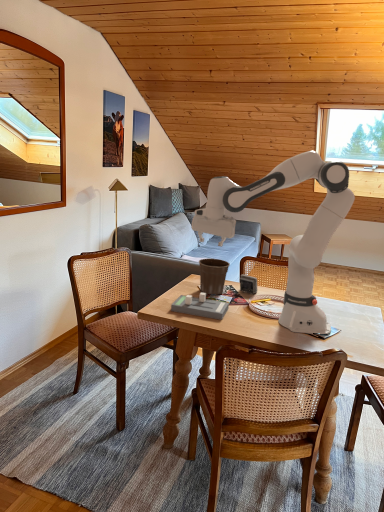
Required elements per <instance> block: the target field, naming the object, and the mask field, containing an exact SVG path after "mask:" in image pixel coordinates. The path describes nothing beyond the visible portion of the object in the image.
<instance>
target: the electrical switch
mask: <svg viewBox="0 0 384 512" xmlns="http://www.w3.org/2000/svg"><path fill="white" fill-rule="evenodd" d="M239 291H241V292H243V293H248V294H251V295H254V294H255V293H257V292H258V278H257V277H255V276H251V275H247V274H244V273H243V274H241V275H240V278H239Z"/></svg>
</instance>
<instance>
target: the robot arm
mask: <svg viewBox="0 0 384 512" xmlns="http://www.w3.org/2000/svg"><path fill="white" fill-rule="evenodd" d="M310 179H314V180H315V181H316V182H317V184H318V185H320V186H321V187H323V188H324V189H326V196H325V198H324V199H323V200H322V202H321V204H320V205H319V206H318V207H317V208H316V211H315V212H314V214H313V215H312V217H311V218H310V219H309V221H308V223H307V224H308V225H307V226H306V229H305V231H304V233H303V234H299V235H296V236H294V237H293V238H292V239H291V240H290V241H289V246H288V248H289V250H288V264H287V265H288V266H287V267H288V268H287V270H288V272H287V274H288V275H287V282H286V289H285V291H284V294H283V306H282V310H281V313H280V315H279V319H277V320H278V323H279V324H280V325H281V326H283V327H284V328H287V329H288V330H289V331H291V332H293V333H302V334H311V335H314V334H313V333H320V334H328V333H330V334H331V332H332V326H331V324H330V322H328V320H327V316H326V313H325V311H324V310H323V309H322V308H320V307H319V306H318V305H317V304H318V300H317V297H316V295H313V290H314V283H315V268H316V267H318V266H319V265H320V264H321V263H322V260H323V255H324V253H325V251H326V249H327V248H328V247H329V246H328V245H329V243H330V241H331V239H332V237H333V235H334V234H335V232H336V231H337V229H338V228H339V227H340V225H341V224H342V222H343V221H344V220H345V218H346V217H347V215H348V214H349V212H350V210H351V209H352V206H353V204H354V202H355V199H356V197H355V194H354V192H353V190H352V189H350V188H349V182H350V169H349V167H348V166H347V164H346V163H345V162H343V161H340V160H331V161H324V160H323V159H322V157H321V155H320V154H319V153H318V152H317V151H315V150H308V151H305V152H301V153H299V154H296V155H294V156H291V157H289V158H287V159H285V160H284V161H282V162H280V163H279V164H277V165H276V166H275V167H274V168H273V169H272V170H271V171H270V172H269V173H268V174H267V175H265V176H264V177H262V178H260V179H258V180H256V181H254V182H252V183H250V184H248V185H245V186H241V185H239V184H237V183H235V182H233V181H232V180H231V179H230V178H229V177H228V176H214V177H212V178H211V179H210V180H209V184H208V187H207V194H206V195H207V196H206V198H207V201H206V204H205V207H204V208H199V209H195V210H194V216H193V218H192V221H191V230H192V231H194V232H197V235H198V239H199V242H200V243H204V242H205V237H203V233H204V234H208V235H213V236H217V237H221V241H218V243H217V246H218V247H220V248H221V247H223V245H224V242H225V241H226V240H227V239H232V238H234V237H235V234H236V233H235V232H236V224H237V220H236V219H235V217H234V216H229V215H226V211H229V212H230V213H239V212H242V211H243V210H244V209H245V208H247V206H248V205H249V203H251V202H253V201H254V200H256V199H258V198H260V197H262V196H264V195H266V194H268V193H271V192H273V191H278V190H283V189H288V188H290V187H293V186H296V185H298V184H301V183H303V182H305V181H307V180H310ZM320 334H319V335H320ZM328 335H329V334H328Z"/></svg>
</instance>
